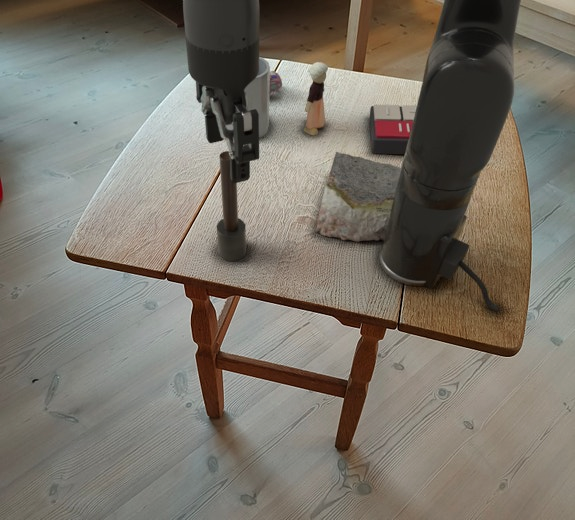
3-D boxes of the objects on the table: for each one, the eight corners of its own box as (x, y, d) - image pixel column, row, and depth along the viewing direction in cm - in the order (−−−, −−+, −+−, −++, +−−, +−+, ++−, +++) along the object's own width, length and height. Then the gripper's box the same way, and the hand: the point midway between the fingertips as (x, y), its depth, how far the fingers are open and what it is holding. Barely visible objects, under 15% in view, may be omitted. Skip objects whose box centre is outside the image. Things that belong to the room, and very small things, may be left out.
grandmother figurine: (321, 140, 99) (327, 75, 90) (300, 136, 99) (304, 72, 90) (327, 117, 104) (334, 53, 95) (307, 114, 105) (312, 50, 95)
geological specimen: (402, 161, 87) (393, 219, 77) (394, 192, 92) (384, 251, 81) (336, 148, 89) (318, 203, 78) (331, 178, 93) (313, 235, 82)
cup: (277, 124, 102) (279, 64, 93) (249, 146, 97) (248, 84, 88) (241, 108, 105) (239, 48, 96) (211, 129, 100) (207, 67, 91)
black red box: (370, 101, 102) (452, 103, 101) (368, 121, 105) (448, 123, 104) (373, 136, 94) (462, 138, 93) (371, 156, 97) (456, 158, 97)
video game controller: (232, 106, 108) (234, 86, 101) (228, 86, 109) (230, 64, 103) (281, 101, 110) (286, 81, 103) (276, 82, 111) (281, 60, 105)
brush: (251, 249, 80) (250, 154, 67) (234, 265, 78) (229, 170, 65) (230, 237, 81) (225, 142, 69) (212, 253, 79) (204, 157, 67)
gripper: (285, 56, 52) (278, 187, 64) (232, -3, 61) (235, 122, 73) (210, 69, 50) (218, 203, 62) (166, 6, 59) (180, 134, 71)
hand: (227, 159), depth 67 cm, fingers open, 8 cm apart
